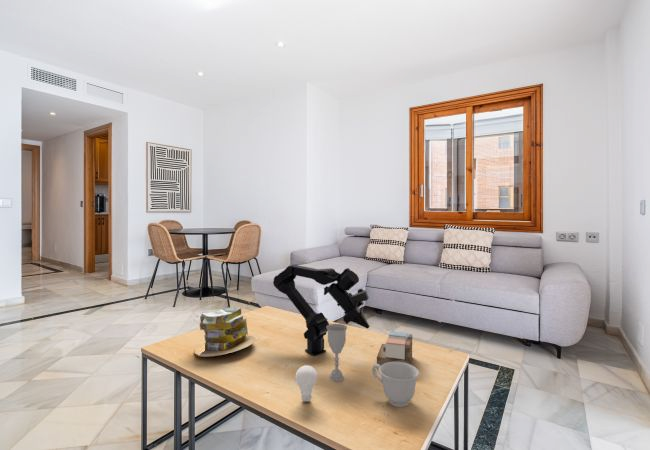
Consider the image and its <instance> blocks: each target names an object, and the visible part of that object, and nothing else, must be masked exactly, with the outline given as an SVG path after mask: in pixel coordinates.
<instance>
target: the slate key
mask: <svg viewBox="0 0 650 450" xmlns="http://www.w3.org/2000/svg"><path fill="white" fill-rule="evenodd" d="M408 335H409V333H407V332H402V331H394V330H389V333H388V336H387V337H388V338H390V339H399V340H405V341H406V344H407V339H408ZM388 338H387V339H388Z"/></svg>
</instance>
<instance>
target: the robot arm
mask: <svg viewBox="0 0 650 450" xmlns="http://www.w3.org/2000/svg"><path fill="white" fill-rule="evenodd" d="M297 276H298V277H302V278H305V279H306V278H307V279H310V280H311V279H312V280H313V281H315V282H316V283H318V284H319V285H322V286H325V287H323V295H324V296H325V295H328V294H329V295H330V296H331V297H332V299H333V300H334V301H335V302H336V305H337V307H340V308H341V309H342V310H343V311H344V312H343V313H344V315H343V317H342V318H343V319H342V320H343V322H344V323H345V324H346V325H347V324H349V323H350V322H353V323H355V324H357V325H359V326H361V327H363V328H364V329H369V328H370V324H369V323H368V321H367V319H366V317H365V315H364V306H363V305H364V303H365V302H366V301H369V295H368V292H367V290H366V289H363V288H359V289H358V290H357V293H355V294H352V293H351V292H348V291H349V290H350V291H351V289H352V288H354V286H356V284H358V283H359V282H360V278H359V275H358V274H357V273H355V272H354V271H353V270H351V269H350V268H349V267H348V268H345V269H344V270H343V272H341V273H340V272H337V271H336V270H335V268H331V267H330V268H313V267H308V266H303V265H298V264H291V265H290V264H289V265H288V266H287V267H286V268H285V269H284V270H282V271H281V272H279V273H278V274H277V275H275V276H274V278H273V281H272V282H273V286H274V287H275V288H276V290H277V291H278V292H280V293H282V294H284V295H286V296H287V297H288V299H289V300H290V301H291V303H292V304H293V305H294V307H295V308H296V310H297V311H298V312H299V313H300V315H301V316H302V317H303V318H304V320H305V325H306V328H307V330H305V332H304V333H303V336H304V339H305V340H307V341H306V345H307V346H306V349H304V351H305V353H308V354H309V355H312V356H318V355H321V354H323V353H326V352H327V349H325V338H324V336H327V334H328V329H327V328H326V326H327V325H330V323H329V321H328V320H329V319H328V318H327V317H325V315H324V314H323V313H322V312H318V313H317V312H316V311H314V310H313V308H312V307H311V306H310V304H309V303H308V302H307V300H306V299H305V298H304V297H303V295H302V294H301V293H300V291H299V290H298V289H297V288H296V282H295V279H296V277H297ZM326 285H327V286H326ZM361 306H362V307H361ZM360 307H361V308H360Z"/></svg>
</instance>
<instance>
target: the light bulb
mask: <svg viewBox="0 0 650 450" xmlns="http://www.w3.org/2000/svg"><path fill="white" fill-rule="evenodd" d="M317 381H318V373H317V371H316V370H315V368H314V367H313V366H311V365H308V364H307V365H302V366H300V367H299V368H298V369H297V371H296V373H295V382H296V384H297V385H298V388H299V390H300V394H301V401H302V402H304V403H309V402H310V401H311V400H312V393H313V389H314V386H315V385H316V383H317Z"/></svg>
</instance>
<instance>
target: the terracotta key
mask: <svg viewBox="0 0 650 450" xmlns="http://www.w3.org/2000/svg"><path fill="white" fill-rule="evenodd" d="M385 344H386V353H385V357H389V358H397V359H405V356H406V341H405V340H399V339H390V338H387V339H386V342H385Z"/></svg>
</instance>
